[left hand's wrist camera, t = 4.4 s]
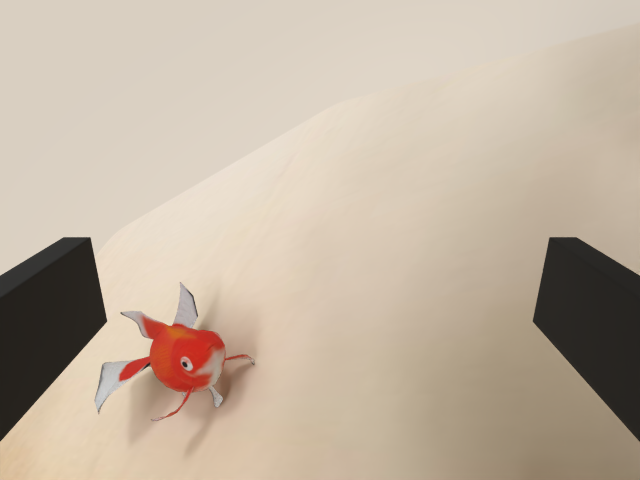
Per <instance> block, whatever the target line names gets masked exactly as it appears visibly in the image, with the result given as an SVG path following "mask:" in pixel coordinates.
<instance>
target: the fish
mask: <svg viewBox="0 0 640 480" xmlns="http://www.w3.org/2000/svg"><path fill="white" fill-rule="evenodd" d="M180 287H181V289H180V300H179V305H178V310H177V314H176V317H175V320H174V323H173V325H172V326H168V325H166V324H164V323H162V322H159V321H157V320H154V319H152V318H150V317H148V316H146V315H145V314H144V313H142V312H140V311H128V312H121V314H122V315H124V316H126V317H129V318H131V319H132V320H134V321H135V322H136V323H137V324H138V326H139V328H140V331H141V334H142V335H143V336H144V337H146V338H150V339H154V340H153V342H152V346H151V349H150V356H149V357H146V358H142V359H137V360H132V361H120V362H107V363H104V364H103V365H102V369H101V375H100V381H99V386H98V390H97V393H96V397H95V404H96V407H97V410H98V414H99V413H100V409H101V406H102V404H103V403H104V401H105V400H106V398H107V397H108V396H109V395H110V394H111V393H113V392H114V391H115V390H116V389H118V388H119V387H120V386H122V385H123V384H124V383H126V382H127V381H128V380H130V379H131V378H132V377H134V376H135V375H137V374H138V373H139V372H141V371H142V370H144V369H145V368H146V367H148V366H151V367H152V369H153V371H154V373H155V375H156V377H157V378H158V379H159V380H160V381H161V382H162V383H163V384H164V385H165V386H166V387H169V388H171V389H173V390H175V391H178V392H182V394H183V396H184V400H183V403H182V405H181V406H180V407H179V408H178V409H177V410H176V411H174V412H172V413H170V414H169V415H167V416H165V417H160V418H157V419H153V420H152V421H158V420H161V419H164V418H166V417H169V416H172V415H174V414H175V413H177V412H178V411H179V410H180V408H181V407H182V406H183V404H184V403H185V402H186V401H187V399H188V397H189V395H190V393H192V392H198V391H203V390H206V389H208V388H209V390H210V391H211V393H212V395H213V399H214V405H215V407H218V406H219V405H220V403H221V402H222V400H223V397H222V396H221V395H220V394H219V393H218V392H217V391H216V390H215V389H214V387H213V385H215V384H216V382H217V380H218V378H219V377H220V374H221V372H222V370H223V366H224V362H225V360H230V359H250V360H251V363H252V364H254V359H252V358H251V357H249V356H248V355H237V356H233V357H229V358H226V359H225V354H226V350H225V345H224V343H223V341H222V339H221V337H220V335H219V334H218V333H216V332H213V331H205V330H198V331H197V330H195V329H192V327H193V325H194V323H195V321H196V319H197V317H198V314H197V310H196V306H195V301H194V297H193V295H192V294H191V293H190V292H189V291H188V290H187V289H186V288H185V286H184V285H183V284H182V283H181V282H180ZM184 392H187V393H186V395H184Z"/></svg>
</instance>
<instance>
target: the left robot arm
mask: <svg viewBox="0 0 640 480" xmlns="http://www.w3.org/2000/svg"><path fill="white" fill-rule="evenodd" d="M106 322H107V318H106V313H105V308H104V303H103V298H102V293H101V288H100V283H99V278H98V273H97V268H96V263H95V258H94V253H93V248H92V243H91V238H90V237H64V238H62V239H60V240H59V241H57V242H55V243H54V244H52V245H50V246H49V247H47V248H45V249H44V250H42V251H40V252H39V253H37V254H35V255H34V256H32V257H30V258H29V259H27V260H25V261H24V262H22V263H20V264H19V265H17V266H16V267H14V268H12V269H11V270H9V271H7V272H6V273H4V274H2V275H1V276H0V441H1V440H2V439H3V438H4V437H5V436H6V435H7V433H8V432H9V431H10V430H11V429H12V428H13V427H14V426H15V424H16V423H17V422H18V421H19V420H20V419H21V418H22V417H23V415H24V414H25V413H26V412H27V411H28V410H29V409H30V408H31V406H32V405H33V404H34V403H35V402H36V401H37V400H38V399H39V397H40V396H41V395H42V394H43V393H44V392H45V391H46V390H47V388H48V387H49V386H50V385H51V384H52V383H53V382H54V381H55V380H56V378H57V377H58V376H59V375H60V374H61V373H62V372H63V371H64V369H65V368H66V367H67V366H68V365H69V364H70V363H71V362H72V360H73V359H74V358H75V357H76V356H77V355H78V354H79V353H80V351H81V350H82V349H83V348H84V347H85V346H86V345H87V344H88V342H89V341H90V340H91V339H92V338H93V337H94V336H95V335H96V333H97V332H98V331H99V330H100V329H101V328H102V327H103V326H104V324H105V323H106ZM533 322H534V323H535V324H536V326H537V327H538V328H539V329H540V330H541V331H542V332H543V333H544V335H545V336H546V337H547V338H548V339H549V340H550V341H551V342H552V344H553V345H554V346H555V347H556V348H557V349H558V350H559V351H560V353H561V354H562V355H563V356H564V357H565V358H566V359H567V360H568V362H569V363H570V364H571V365H572V366H573V367H574V368H575V369H576V371H577V372H578V373H579V374H580V375H581V376H582V377H583V378H584V380H585V381H586V382H587V383H588V384H589V385H590V386H591V387H592V388H593V390H594V391H595V392H596V393H597V394H598V395H599V396H600V397H601V399H602V400H603V401H604V402H605V403H606V404H607V405H608V406H609V408H610V409H611V410H612V411H613V412H614V413H615V414H616V415H617V417H618V418H619V419H620V420H621V421H622V422H623V423H624V424H625V426H626V427H627V428H628V429H629V430H630V431H631V432H632V433H633V435H634V436H635V437H636V438H637V439H638V440H639V441H640V276H639V275H638V274H636V273H634V272H633V271H631V270H629V269H628V268H626V267H624V266H623V265H621V264H620V263H618V262H616V261H615V260H613V259H611V258H610V257H608V256H606V255H605V254H603V253H601V252H600V251H598V250H596V249H595V248H593V247H591V246H590V245H588V244H586V243H585V242H583V241H581V240H580V239H578V238H577V237H550V238H549V243H548V248H547V253H546V258H545V263H544V268H543V273H542V278H541V283H540V288H539V293H538V298H537V303H536V308H535V313H534V318H533Z"/></svg>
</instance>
